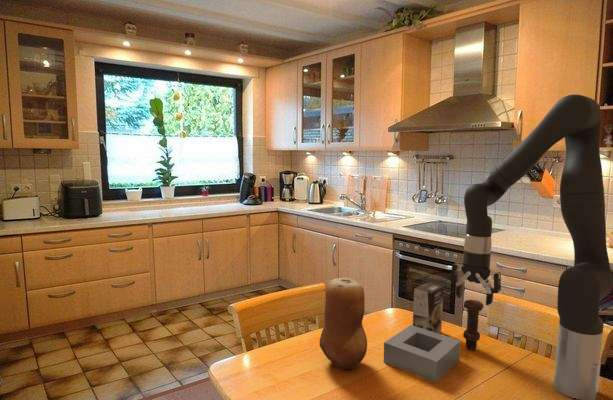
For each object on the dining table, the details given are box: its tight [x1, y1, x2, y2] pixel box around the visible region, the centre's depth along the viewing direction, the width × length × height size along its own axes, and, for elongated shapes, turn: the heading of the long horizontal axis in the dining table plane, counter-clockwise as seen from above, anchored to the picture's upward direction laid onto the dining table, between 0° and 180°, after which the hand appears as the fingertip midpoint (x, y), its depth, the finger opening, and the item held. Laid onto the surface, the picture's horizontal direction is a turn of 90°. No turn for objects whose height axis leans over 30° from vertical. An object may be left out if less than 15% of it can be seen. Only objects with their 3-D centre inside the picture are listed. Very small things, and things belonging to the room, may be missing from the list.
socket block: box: [383, 324, 461, 384], centre depth 120 cm, size 16×16×6 cm
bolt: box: [462, 299, 484, 352], centre depth 127 cm, size 6×5×15 cm
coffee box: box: [412, 282, 445, 334], centre depth 138 cm, size 9×6×16 cm
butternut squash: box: [319, 277, 368, 370], centre depth 117 cm, size 14×13×25 cm
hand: (473, 300), depth 126 cm, fingers open, 8 cm apart
